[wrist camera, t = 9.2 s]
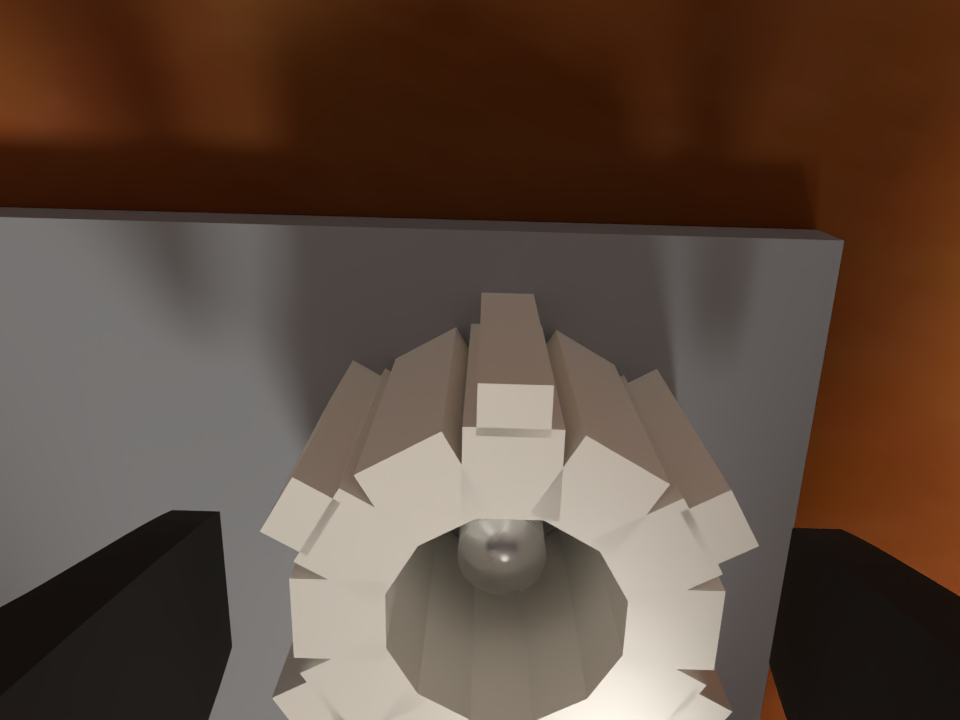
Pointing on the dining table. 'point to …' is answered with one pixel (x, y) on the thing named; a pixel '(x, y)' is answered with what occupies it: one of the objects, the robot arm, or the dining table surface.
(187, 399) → the gear board
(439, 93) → the dining table surface
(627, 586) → the gear
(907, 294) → the dining table surface
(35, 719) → the robot arm
